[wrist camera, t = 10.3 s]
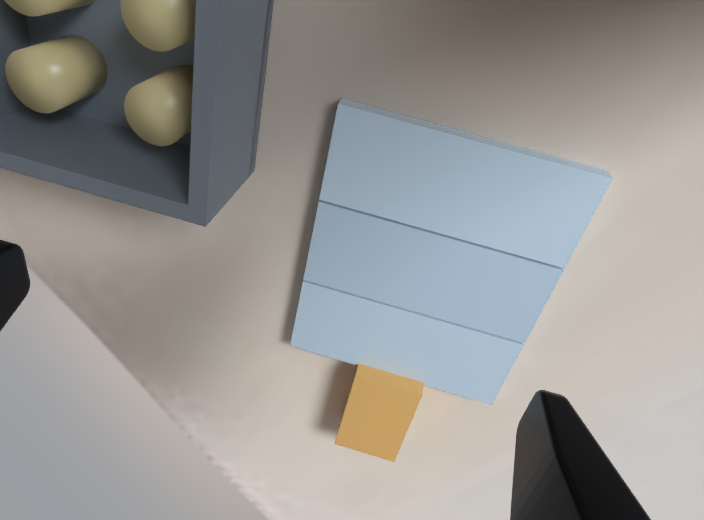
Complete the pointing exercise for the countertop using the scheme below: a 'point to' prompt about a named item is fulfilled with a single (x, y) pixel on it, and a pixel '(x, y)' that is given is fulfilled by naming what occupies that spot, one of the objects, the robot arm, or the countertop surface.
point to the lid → (432, 262)
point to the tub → (135, 98)
